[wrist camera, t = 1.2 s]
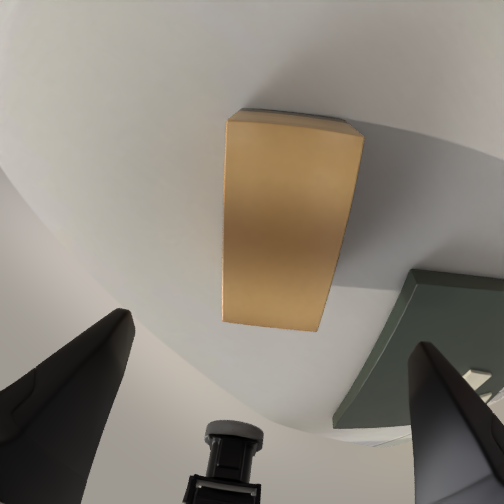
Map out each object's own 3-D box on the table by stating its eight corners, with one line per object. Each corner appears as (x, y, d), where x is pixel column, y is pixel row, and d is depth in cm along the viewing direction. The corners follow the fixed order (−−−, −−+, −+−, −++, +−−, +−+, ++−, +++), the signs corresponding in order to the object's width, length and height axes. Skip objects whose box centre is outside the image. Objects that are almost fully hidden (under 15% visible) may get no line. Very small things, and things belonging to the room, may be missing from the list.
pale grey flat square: (476, 409, 25) (477, 411, 25) (451, 415, 26) (452, 418, 25) (491, 391, 23) (492, 394, 23) (464, 399, 23) (465, 402, 23)
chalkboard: (472, 406, 27) (474, 415, 26) (332, 417, 28) (332, 428, 27) (564, 286, 16) (572, 296, 15) (410, 268, 17) (417, 283, 16)
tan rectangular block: (313, 284, 19) (317, 332, 15) (233, 275, 19) (221, 322, 16) (345, 120, 13) (365, 136, 10) (241, 107, 13) (225, 119, 10)
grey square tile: (464, 395, 23) (465, 398, 23) (442, 393, 23) (443, 396, 22) (490, 372, 21) (491, 375, 20) (470, 369, 20) (471, 372, 20)
